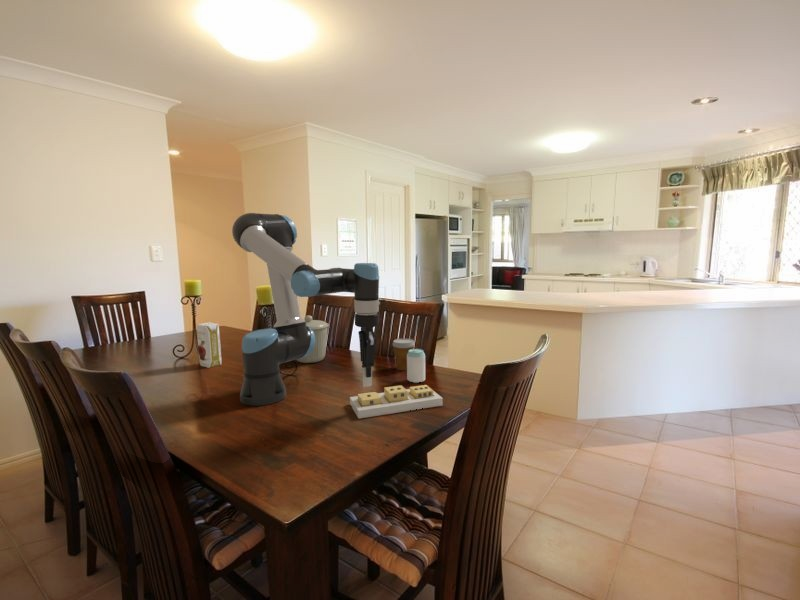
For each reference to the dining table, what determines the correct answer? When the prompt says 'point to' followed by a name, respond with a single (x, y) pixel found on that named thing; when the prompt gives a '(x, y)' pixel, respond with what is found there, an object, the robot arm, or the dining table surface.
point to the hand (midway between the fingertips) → (367, 385)
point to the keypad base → (395, 405)
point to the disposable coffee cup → (402, 352)
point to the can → (416, 365)
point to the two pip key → (395, 394)
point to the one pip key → (369, 399)
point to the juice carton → (209, 344)
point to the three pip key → (421, 391)
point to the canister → (316, 340)
